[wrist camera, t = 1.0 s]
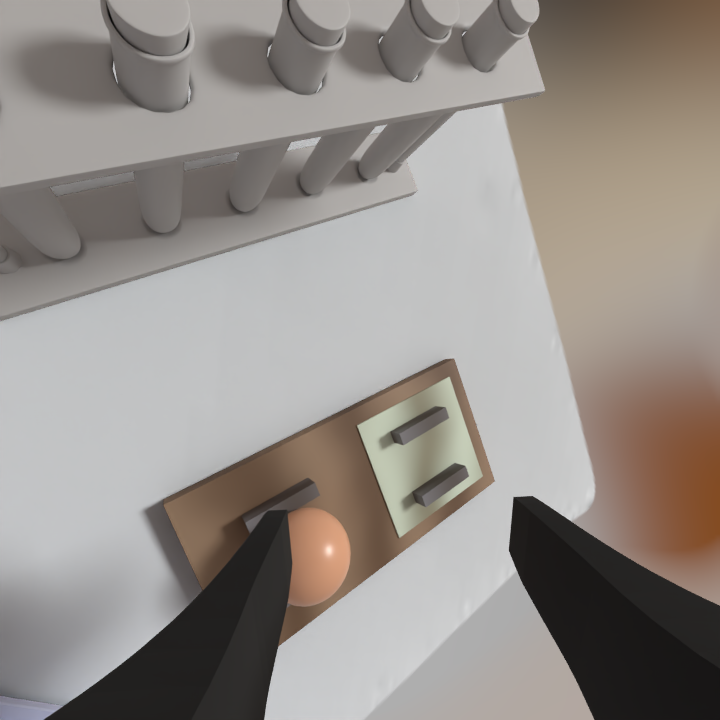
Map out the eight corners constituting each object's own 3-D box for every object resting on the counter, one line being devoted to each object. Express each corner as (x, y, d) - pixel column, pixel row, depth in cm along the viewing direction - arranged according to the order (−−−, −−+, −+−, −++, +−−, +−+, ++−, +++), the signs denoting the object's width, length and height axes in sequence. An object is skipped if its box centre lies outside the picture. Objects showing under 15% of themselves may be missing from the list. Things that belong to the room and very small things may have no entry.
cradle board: (238, 661, 20) (245, 691, 18) (163, 499, 19) (162, 513, 17) (484, 478, 29) (507, 485, 27) (445, 359, 28) (465, 357, 26)
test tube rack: (-1, 322, 16) (-429, 177, 5) (-58, 227, 16) (-716, -217, 4) (412, 195, 27) (594, 56, 16) (389, 135, 27) (562, -58, 15)
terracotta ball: (308, 589, 21) (339, 637, 17) (238, 565, 19) (255, 612, 15) (343, 513, 22) (380, 542, 18) (280, 485, 20) (306, 510, 16)
